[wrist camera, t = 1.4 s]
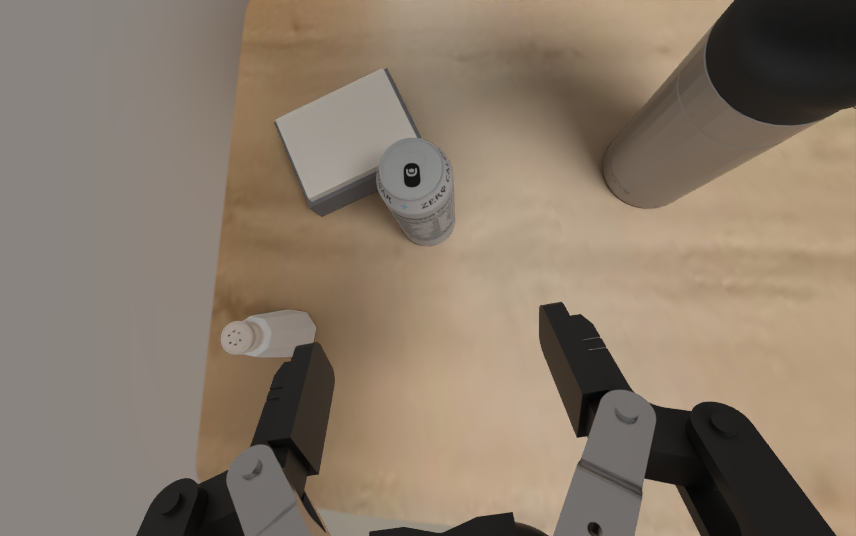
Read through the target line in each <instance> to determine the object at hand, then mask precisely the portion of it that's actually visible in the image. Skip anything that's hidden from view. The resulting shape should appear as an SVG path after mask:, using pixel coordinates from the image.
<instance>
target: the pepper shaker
mask: <svg viewBox="0 0 856 536" xmlns="http://www.w3.org/2000/svg"><path fill="white" fill-rule="evenodd" d="M316 328H317V327H316V326H315V324H314V323H313V321H312V320H311V318H310V316H309V315H308V313H307V312H303V311H297V310H292V309H287V310H281V311H275V312H269V313H263V314H258V315H252V316H249V317H248V318H246V319H245V320H243V321H233V322H231V323H229V324H228V325H226V327H225V328H224V329H223V331H222V333H221V345H222V347H223V349H224V350H225V351H226V352H227V353H229V354H232V355H240V354H243V355H248V356H253V357H292V356H293V352H294V349H295V347H296V346H298V345H303V344H309V343H313V342H314V337H315V332H316Z"/></svg>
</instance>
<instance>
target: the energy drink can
mask: <svg viewBox="0 0 856 536" xmlns="http://www.w3.org/2000/svg"><path fill="white" fill-rule="evenodd" d="M376 184H377V189H378V192H379V194H380V196H381V198H382V199H383V201H384V202H385V204H386V205H387V207H388V208H389V210H390V212H391V213H392V215H393V216H394V218H395V219H396V221H397V222H398V224H399V225H400V227H401V228H402V230H403V231H404V233H405V235H406V236H407V237H408V238H409V239H410V240H411V241H413V242H414V243H416V244H418V245H422V246H433V245H437V244H439V243H441V242H443V241H444V240H446V239H447V238H448V237H449V235H450V234H451V232H452V230H453V228H454V225H455V204H454V185H453V171H452V166H451V164H450V161H449V159H448V158H447V156H446V155H445V153H444V152H443V151H441V150H440V149H439V148H438V147H436V146H435V145H433V144H432V143H430V142H429V141H427V140H424V139H421V138H405V139H402V140H399V141H397V142H395V143H394V144H392V145H391V146H390V147H389V148H388V149H387V150H386V151H385V153H384V154H383V156H382V158H381V161H380V164H379V166H378V170H377V174H376Z"/></svg>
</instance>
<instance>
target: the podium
mask: <svg viewBox="0 0 856 536" xmlns="http://www.w3.org/2000/svg"><path fill="white" fill-rule="evenodd" d="M275 120H276V122H274V124H275V126H276V128H277V131H278V133H279V136H280V138H281V140H282V143H283V145H284V147H285V150H286V152H287V155H288V157H289V159H290V162H291V164H292V167H293V169H294V171H295V174H296V176H297V179H298V181H299V183H300V186H301V188H302V191H303V193H304V195H305V198H306V200H307V203H308V205H309V207H310V208H311V209H312V210H313V211H315V212H316V213H317V214H319V215H320V216H321V217H323V216H325V215H327V214H329V213H331V212H333V211H335V210H337V209H339V208H342V207H344V206H346V205H348V204H350V203H352V202H354V201H356V200H358V199H361V198H363V197H365V196H367V195H369V194H371V193H373V192H375V191H377V190H378V189H377V184H376V174H377V170H378V166H379V164H380V161H381V158H382V156H383V154H384V153H385V151H386V150H387V149H388V148H389V147H390V146H391V145H392V144H394V143H395V142H397V141H399V140H402V139H405V138H421V136H420V134H419V132H418V130H417V128H416V126H415V124H414V122H413V120H412V118H411V116H410V114H409V112H408V110H407V108H406V106H405V104H404V102H403V100H402V98H401V96H400V94H399V92H398V89H397V87H396V85H395V83H394V81H393V79H392V77H391V75H390V73H389V71H388V69H387V68H386V69H383V68H381V69H379V70H377V71H375V72H373V73H371V74H369V75H366V76H364V77H362V78H360V79H358V80H356V81H354V82H352V83H350V84H348V85H346V86H344V87H342V88H339V89H337V90H335V91H333V92H331V93H329V94H327V95H325V96H323V97H321V98H319V99H317V100H315V101H312V102H310V103H308V104H306V105H304V106H302V107H300V108H298V109H296V110H294V111H292V112H290V113H288V114H285V115H283V116H281V117H279V118H277V119H275ZM421 139H422V138H421Z"/></svg>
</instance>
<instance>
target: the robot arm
mask: <svg viewBox="0 0 856 536" xmlns="http://www.w3.org/2000/svg"><path fill="white" fill-rule="evenodd" d="M855 106H856V0H734V2H733V3H732V4H731V5H730V6H729V7H728V8H727V10H726V11H725V12H724V13H723V14H722V15H721V17H720V18H719V19H718V20H717V21H716V22H715V24H714V25H713V26H712V27H711V28H710V29H709V30H708V32H707V33H706V34H705V35H704V36H703V37H702V39H701V40H700V41H699V42H698V43H697V44H696V46H695V47H694V48H693V49H692V50H691V51H690V53H689V54H688V55H687V56H686V57H685V59H684V60H683V61H682V62H681V63H680V64H679V66H678V67H677V68H676V69H675V70H674V71H673V73H672V74H671V75H670V76H669V77H668V78H667V80H666V81H665V82H664V83H663V84H662V85H661V86H660V88H659V89H658V90H657V91H656V92H655V93H654V95H653V96H652V97H651V98H650V99H649V100H648V102H647V103H646V104H645V105H644V106H643V107H642V109H641V110H640V111H639V112H638V113H637V114H636V115H635V117H634V118H633V119H632V120H631V121H630V122H629V124H628V125H627V126H626V127H625V128H624V129H623V130H622V132H621V133H620V134H619V135H618V136H617V138H616V139H615V140H614V141H613V142H612V143H611V145H610V146H609V148H608V149H607V151H606V153H605V157H604V160H603V172H604V177H605V180H606V182H607V184H608V186H609V188H610V189H611V190H612V192H613V193H614V194H615V195H616V196H617V197H618V198H619V199H621V200H622V201H624V202H626V203H627V204H630V205H633V206H636V207H640V208H658V207H662V206H665V205H667V204H670V203H672V202H674V201H675V200H677V199H679V198H681V197H683V196H685V195H686V194H688V193H690V192H692V191H694V190H696V189H698V188H699V187H701V186H703V185H705V184H707V183H709V182H710V181H712V180H714V179H716V178H718V177H720V176H721V175H723V174H725V173H727V172H729V171H730V170H732V169H734V168H736V167H738V166H740V165H741V164H743V163H745V162H747V161H749V160H750V159H752V158H754V157H756V156H758V155H760V154H761V153H763V152H765V151H767V150H769V149H770V148H772V147H774V146H776V145H778V144H780V143H781V142H783V141H785V140H786V139H788V138H790V137H792V136H794V135H795V134H797V133H799V132H801V131H803V130H805V129H806V128H808V127H810V126H812V125H814V124H816V123H817V122H819V121H821V120H823V119H824V118H826V117H828V116H830V115H832V114H834V113H836V112H838V111H839V110H842V109H847V108H851V107H855ZM539 339H540V344H541V348H542V351H543V354H544V356H545V359H546V361H547V364H548V366H549V369H550V371H551V374H552V376H553V379H554V381H555V384H556V386H557V389H558V391H559V394H560V397H561V399H562V402H563V404H564V407H565V409H566V412H567V414H568V417H569V419H570V422H571V424H572V427H573V429H574V432H575V434H576V437H577V438H578V437H585V436H587V437H588V440H587V443H586V446H585V449H584V452H583V455H582V458H581V460H580V461H579V462H578V465H577V467H576V470H575V472H574V475H573V478H572V481H571V484H570V487H569V490H568V493H567V496H566V499H565V502H564V505H563V508H562V511H561V514H560V517H559V520H558V523H557V526H556V529H555V532H554V535H553V536H634V535H635V530H636V525H637V520H638V516H639V511H640V506H641V500H642V487H643V481H644V479H649V480H654V481H659V482H664V483H669V484H674V485H676V487H677V489H678V491H679V493H680V495H681V497H682V499H683V501H684V503H685V505H686V507H687V509H688V511H689V513H690V515H691V517H692V519H693V521H694V523H695V525H696V527H697V529H698V531H699V533H700V535H701V536H836V535H835V533H834V532H833V531H832V529H831V528H830V527H829V525H828V524H827V523H826V521H825V520H824V519H823V517H822V516H821V515H820V513H819V512H818V511H817V509H816V508H815V507H814V505H813V504H812V503H811V501H810V500H809V499H808V497H807V496H806V495H805V493H804V492H803V491H802V489H801V488H800V487H799V485H798V484H797V483H796V481H795V480H794V479H793V477H792V476H791V475H790V473H789V472H788V471H787V469H786V468H785V467H784V465H783V464H782V463H781V461H780V460H779V459H778V457H777V456H776V455H775V453H774V452H773V451H772V449H771V448H770V447H769V445H768V444H767V443H766V441H765V440H764V439H763V437H762V436H761V435H760V433H759V432H758V431H757V429H756V428H755V427H754V425H753V424H752V423H751V422H750V420H749V419H748V418H747V417H746V416H745V415H743V414H742V413H741V412H739V411H738V410H736V409H734V408H732V407H730V406H728V405H725V404H722V403H718V402H703V403H700V404H698V405H696V406H695V407H694V408H693V409H692V411H686V410H679V409H672V408H665V407H660V406H656V405H653V404H651V403H649V402H647V401H646V400H645V399H644V398H643V397H641V396H640V395H638V394H636V393H635V392H634V391H633V390H632V389H631V388H630V386H629V385H628V383H627V381H626V380H625V378H624V376H623V374H622V373H621V371H620V369H619V368H618V366H617V364H616V362H615V361H614V359H613V357H612V356H611V354H610V352H609V351H608V349H606V345H605V344H604V342H603V340H602V339H601V338H600V335H599V334H598V332H597V330H596V328H595V327H594V325H593V324H592V323H591V322H590V321H589V320H587V319H586V318H585V317H583V316H582V315H581V314H578V315H572V316H570V315H569V313H568V311H567V309H566V307H565V306H564V304H563V303H562V302H558V303H552V304H546V305H540V307H539ZM334 384H335V377H334V371H333V368H332V366H331V364H330V362H329V360H328V358H327V356H326V354H325V352H324V351H323V349H322V347H321V345H320V344H319V343H318V342H315V343H309V344H303V345H298V346H296V347H295V349H294V352H293V356H292V359H291V361H290V362H284V363H283V365H282V366H281V367H280V369H279V370H278V371H277V373H276V374H275V375H274V378H273V381H272V384H271V387H270V391H269V393H268V396H267V399H266V400H267V402H265V405H264V408H263V411H262V414H261V417H260V420H259V423H258V426H257V429H256V432H255V435H254V438H253V440H252V443H251V446H250V448H248V449H246V450H245V451H243V452H242V453H241V454H240V455H239V456H238V457H237V458H236V459H235V460H234V461H233V463H232V464H231V466H230V468H229V470H227V471H225V472H223V473H221V474H219V475H217V476H215V477H213V478H211V479H209V480H206V481H204V482H202V483H200V484H197V483H196V482H195V481H194V480H192V479H189V478H184V479H180V480H177V481H175V482H173V483H171V484H170V485H168V486H167V487H165V488H164V489H163V490H162V491H161V492H160V493H159V494H158V495H157V496H156V498H155V499H154V500H153V502H152V503H151V505H150V507H149V509H148V511H147V513H146V515H145V517H144V520H143V522H142V524H141V526H140V529H139V531H138V533H137V535H136V536H331V535H330V533H329V531H328V530H327V528H326V526H325V524H324V522H323V520H322V518H321V517H320V515H319V513H318V512H317V509H316V507H315V505H314V504H313V502H312V500H311V498H310V496H309V494H308V492H307V491H306V489H305V483H306V478H307V476H311V475H318V474H319V470H320V464H321V459H322V453H323V447H324V442H325V436H326V430H327V424H328V419H329V413H330V407H331V401H332V396H333V390H334ZM369 536H549V535H547V534H545V533H544V532H542V531H540V530H538V529H536V528H534V527H532V526H529V525H526V524H523V523H517V522H515V521H514V517H513V512H510V513H503V514H495V515H488V516H481V517H476V518H474V519H471V520H469V521H467V522H465V523H463V524H461V525H459V526H456V527H454V528H452V529H450V530H448V531H446V532H443V533H435V532H429V531H423V530H418V529H413V528H407V527H400V528H393V529H385V530H378V531H371V532H370V533H369Z"/></svg>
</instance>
